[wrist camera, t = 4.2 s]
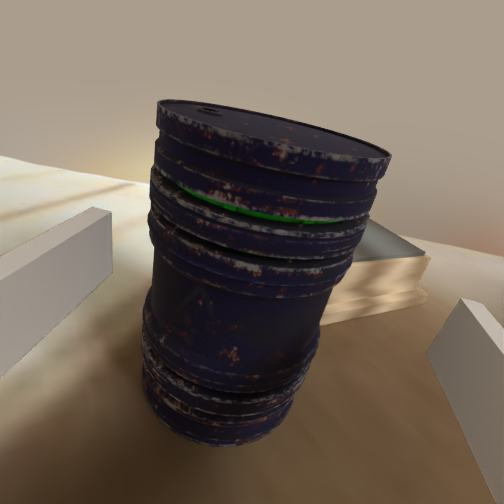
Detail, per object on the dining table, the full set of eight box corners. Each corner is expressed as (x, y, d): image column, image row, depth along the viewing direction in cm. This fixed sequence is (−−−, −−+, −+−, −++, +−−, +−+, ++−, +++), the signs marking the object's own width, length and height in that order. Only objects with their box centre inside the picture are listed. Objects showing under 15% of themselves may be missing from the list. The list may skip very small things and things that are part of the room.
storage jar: (297, 337, 24) (369, 137, 17) (295, 471, 16) (437, 181, 9) (174, 305, 25) (196, 97, 18) (104, 419, 16) (95, 100, 9)
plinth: (328, 232, 44) (340, 196, 42) (423, 304, 32) (448, 259, 30) (223, 236, 37) (230, 192, 34) (296, 330, 25) (316, 274, 22)
